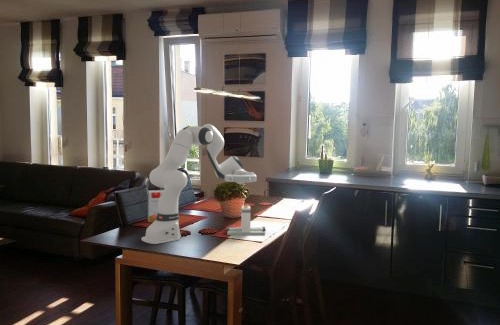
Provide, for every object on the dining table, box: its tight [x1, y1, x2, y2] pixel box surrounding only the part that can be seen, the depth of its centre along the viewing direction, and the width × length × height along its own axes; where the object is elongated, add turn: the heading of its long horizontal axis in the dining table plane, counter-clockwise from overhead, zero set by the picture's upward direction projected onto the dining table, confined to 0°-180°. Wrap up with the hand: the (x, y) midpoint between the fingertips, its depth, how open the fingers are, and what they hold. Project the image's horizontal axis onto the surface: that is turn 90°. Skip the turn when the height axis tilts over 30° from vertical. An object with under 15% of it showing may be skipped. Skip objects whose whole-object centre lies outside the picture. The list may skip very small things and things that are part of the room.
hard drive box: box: [147, 189, 164, 223], centre depth 283 cm, size 16×8×20 cm, turn 105°
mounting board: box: [226, 230, 266, 236], centre depth 258 cm, size 22×10×2 cm, turn 93°
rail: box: [226, 226, 266, 232], centre depth 258 cm, size 23×5×2 cm, turn 93°
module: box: [240, 205, 252, 232], centre depth 257 cm, size 7×5×15 cm
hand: (241, 180), depth 266 cm, fingers open, 8 cm apart
